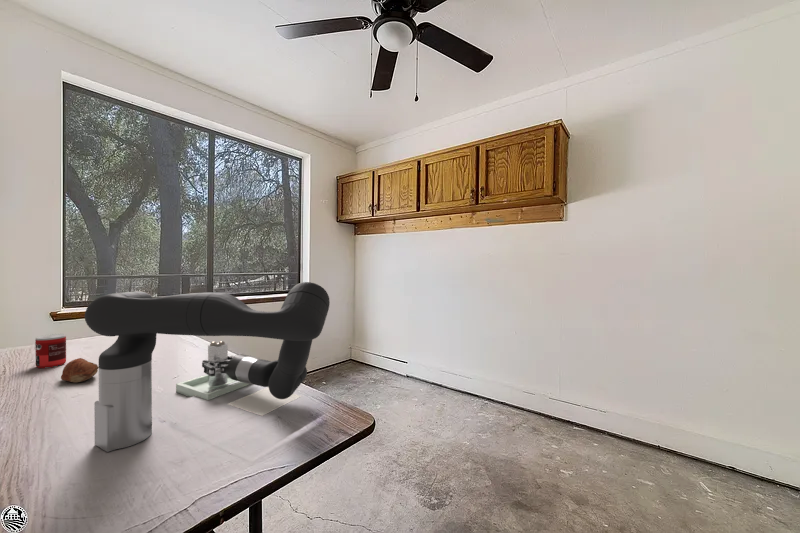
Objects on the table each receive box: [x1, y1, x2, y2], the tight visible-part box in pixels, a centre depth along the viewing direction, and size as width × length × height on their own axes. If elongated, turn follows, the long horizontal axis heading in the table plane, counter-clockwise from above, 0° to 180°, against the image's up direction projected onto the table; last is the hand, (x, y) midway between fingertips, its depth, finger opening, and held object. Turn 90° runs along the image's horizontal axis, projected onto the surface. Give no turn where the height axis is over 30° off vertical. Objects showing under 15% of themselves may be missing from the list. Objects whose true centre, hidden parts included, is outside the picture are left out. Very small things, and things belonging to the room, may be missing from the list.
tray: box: [175, 374, 250, 401], centre depth 104 cm, size 16×16×2 cm
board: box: [227, 387, 302, 417], centre depth 94 cm, size 14×14×1 cm
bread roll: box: [60, 357, 99, 383], centre depth 110 cm, size 13×8×10 cm
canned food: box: [34, 333, 67, 369], centre depth 123 cm, size 8×8×11 cm
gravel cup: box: [207, 340, 229, 386], centre depth 104 cm, size 5×5×13 cm
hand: (213, 360), depth 105 cm, fingers closed on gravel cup, 5 cm apart
